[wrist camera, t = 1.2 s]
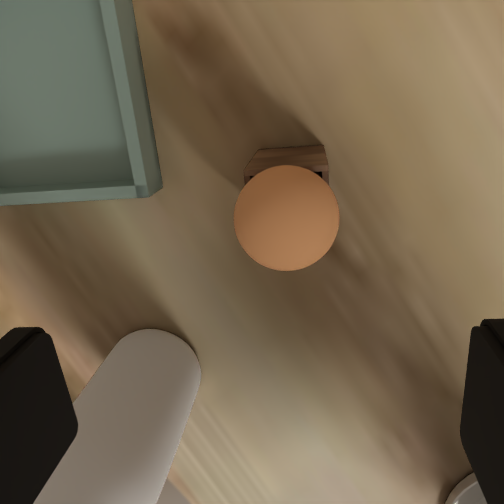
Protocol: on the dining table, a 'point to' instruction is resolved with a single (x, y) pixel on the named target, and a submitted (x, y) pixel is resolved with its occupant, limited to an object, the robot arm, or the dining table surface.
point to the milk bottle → (128, 423)
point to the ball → (286, 218)
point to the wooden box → (289, 160)
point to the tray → (73, 104)
